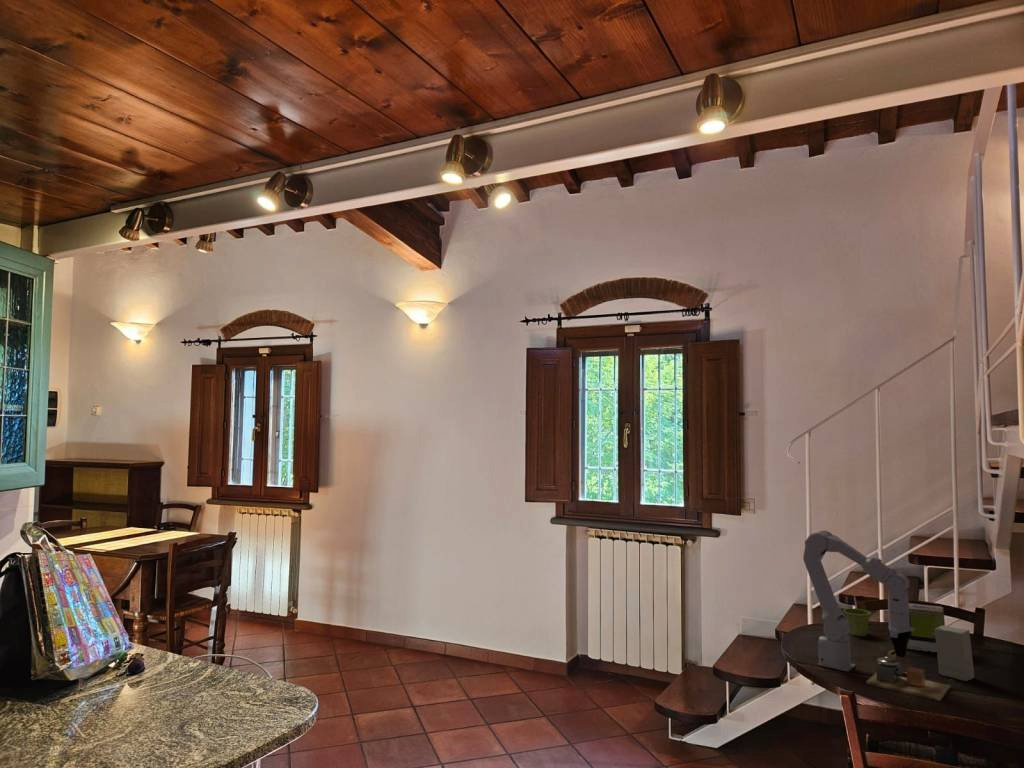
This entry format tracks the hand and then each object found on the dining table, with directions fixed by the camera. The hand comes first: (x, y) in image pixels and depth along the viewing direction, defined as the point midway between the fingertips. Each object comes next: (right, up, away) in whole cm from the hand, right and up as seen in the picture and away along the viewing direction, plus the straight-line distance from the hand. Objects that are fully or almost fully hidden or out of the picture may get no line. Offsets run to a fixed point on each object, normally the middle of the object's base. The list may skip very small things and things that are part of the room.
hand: (900, 656), depth 209 cm
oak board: (-1, -7, -6) cm, 9 cm away
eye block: (-5, -7, -2) cm, 9 cm away
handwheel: (-4, -2, -1) cm, 5 cm away
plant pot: (+12, -12, +48) cm, 51 cm away
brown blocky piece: (-3, -6, -4) cm, 7 cm away
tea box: (+26, -10, +32) cm, 42 cm away
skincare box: (+19, -8, +3) cm, 21 cm away
